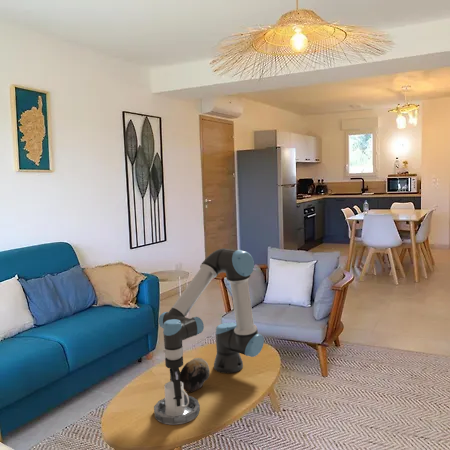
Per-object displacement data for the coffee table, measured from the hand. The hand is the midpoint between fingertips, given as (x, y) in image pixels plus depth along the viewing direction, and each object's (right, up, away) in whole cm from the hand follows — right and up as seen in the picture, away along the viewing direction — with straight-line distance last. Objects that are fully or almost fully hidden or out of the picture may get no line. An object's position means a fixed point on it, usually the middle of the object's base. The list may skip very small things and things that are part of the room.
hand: (176, 405), depth 198 cm
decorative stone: (+7, -1, +20) cm, 21 cm away
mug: (+1, -3, -1) cm, 3 cm away
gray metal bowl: (0, -3, 0) cm, 3 cm away
